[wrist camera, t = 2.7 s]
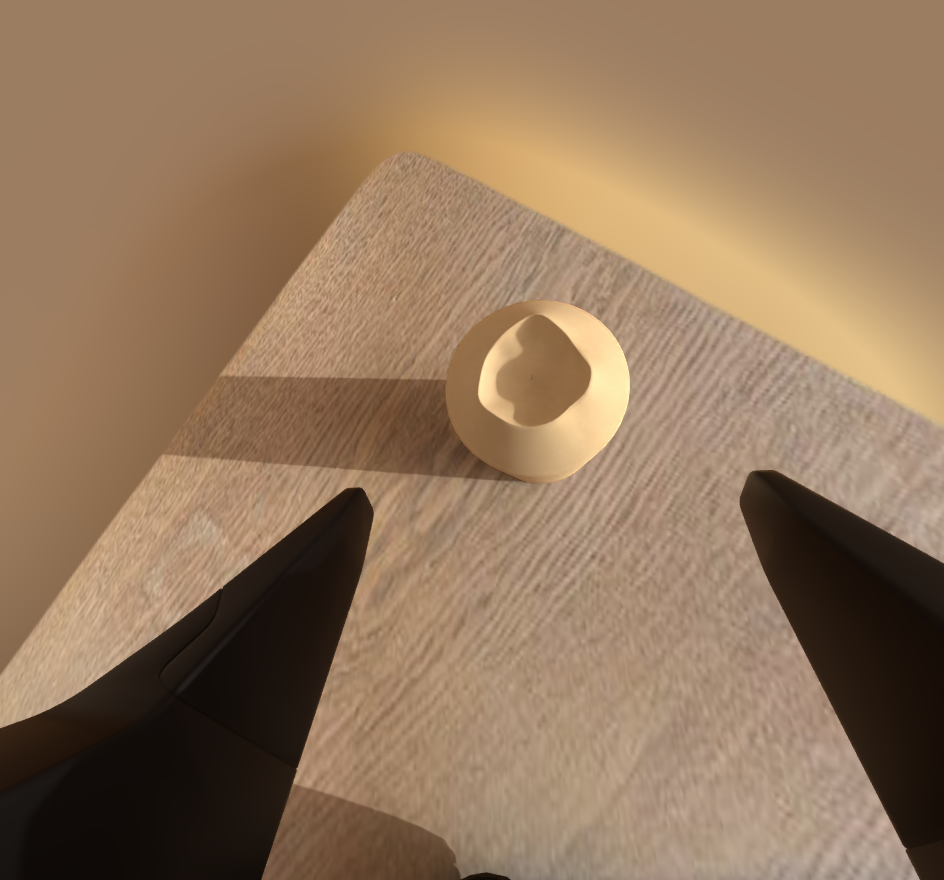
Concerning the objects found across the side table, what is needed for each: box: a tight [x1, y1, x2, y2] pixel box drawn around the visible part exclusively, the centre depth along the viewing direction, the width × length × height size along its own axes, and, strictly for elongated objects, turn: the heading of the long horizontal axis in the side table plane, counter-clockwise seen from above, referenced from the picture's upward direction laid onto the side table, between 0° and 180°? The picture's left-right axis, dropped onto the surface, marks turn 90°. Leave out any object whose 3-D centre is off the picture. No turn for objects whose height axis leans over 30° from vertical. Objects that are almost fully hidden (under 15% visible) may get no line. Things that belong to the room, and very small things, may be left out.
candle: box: [445, 300, 630, 484], centre depth 14 cm, size 6×6×10 cm
